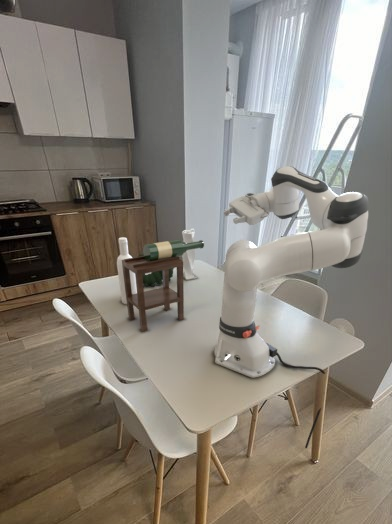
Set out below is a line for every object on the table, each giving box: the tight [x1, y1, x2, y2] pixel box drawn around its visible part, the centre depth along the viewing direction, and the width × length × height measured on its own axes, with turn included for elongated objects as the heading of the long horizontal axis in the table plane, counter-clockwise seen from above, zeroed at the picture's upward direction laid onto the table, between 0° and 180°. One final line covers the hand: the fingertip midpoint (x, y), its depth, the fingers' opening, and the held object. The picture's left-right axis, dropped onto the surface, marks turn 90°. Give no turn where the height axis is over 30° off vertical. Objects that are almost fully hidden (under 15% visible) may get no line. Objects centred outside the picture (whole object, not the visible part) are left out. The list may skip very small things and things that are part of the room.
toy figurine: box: [137, 253, 175, 288], centre depth 161 cm, size 9×19×25 cm
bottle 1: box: [116, 236, 137, 305], centre depth 138 cm, size 8×8×30 cm
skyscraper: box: [181, 228, 198, 281], centre depth 167 cm, size 8×8×28 cm
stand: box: [122, 256, 185, 333], centre depth 124 cm, size 14×20×27 cm
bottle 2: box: [142, 239, 205, 262], centre depth 120 cm, size 6×26×6 cm, turn 124°
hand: (229, 217), depth 126 cm, fingers open, 8 cm apart
